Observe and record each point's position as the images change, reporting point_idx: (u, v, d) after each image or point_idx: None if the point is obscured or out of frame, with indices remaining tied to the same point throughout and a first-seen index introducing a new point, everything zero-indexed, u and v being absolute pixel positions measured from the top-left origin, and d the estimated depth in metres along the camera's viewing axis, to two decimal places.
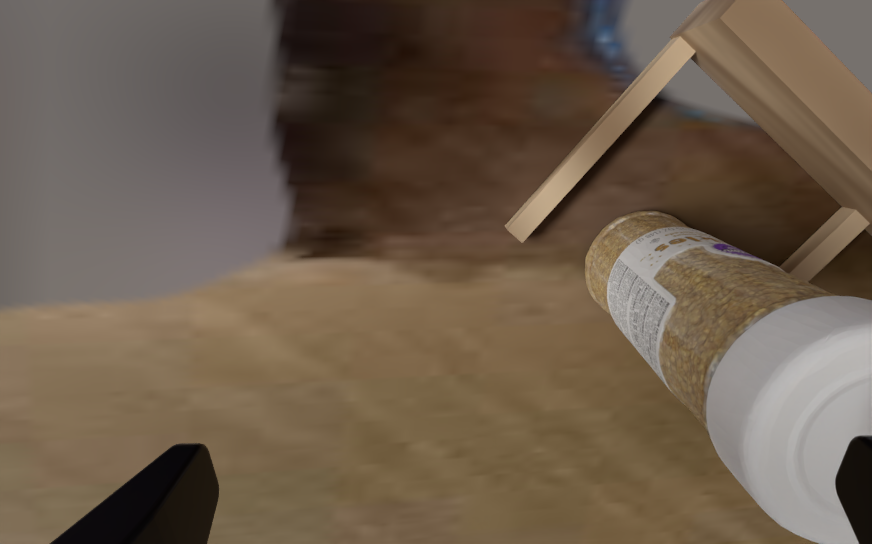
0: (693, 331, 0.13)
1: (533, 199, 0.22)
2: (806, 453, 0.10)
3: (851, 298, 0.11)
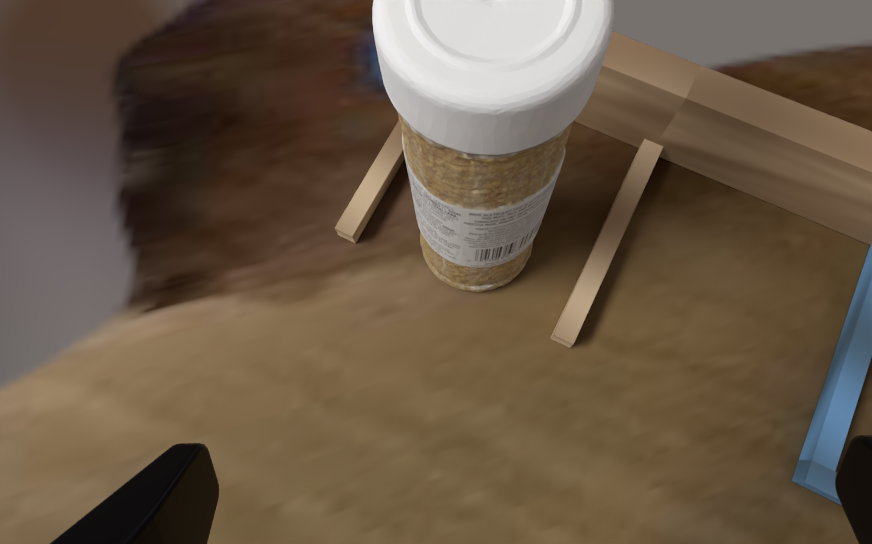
0: None
1: (353, 198, 0.23)
2: (427, 17, 0.11)
3: None
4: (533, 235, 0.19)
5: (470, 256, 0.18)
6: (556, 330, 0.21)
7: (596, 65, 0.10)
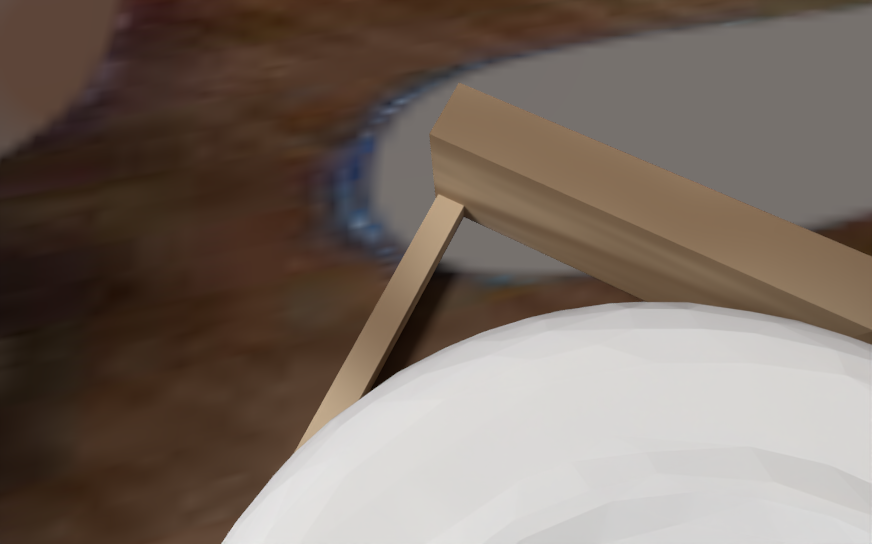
0: None
1: (301, 442, 0.15)
2: None
3: None
4: None
5: None
6: None
7: None
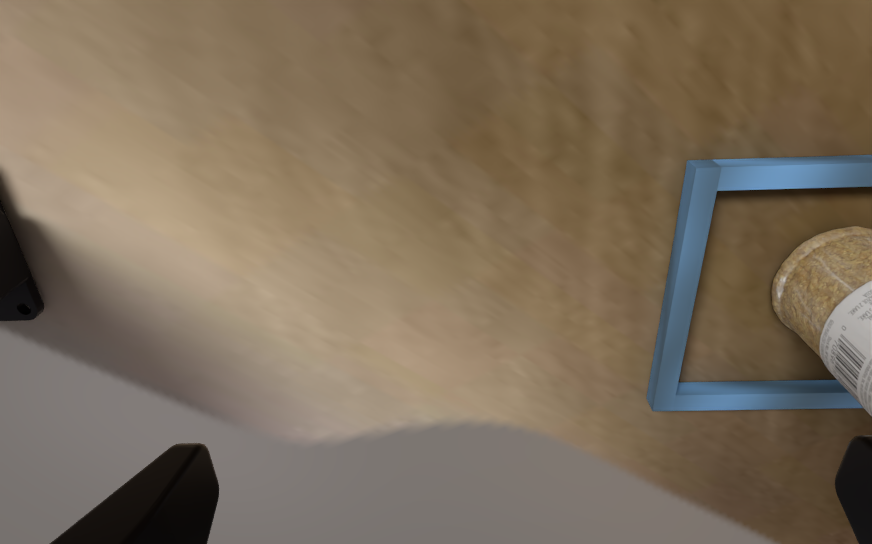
0: None
1: None
2: None
3: None
4: None
5: (852, 337, 0.17)
6: None
7: None
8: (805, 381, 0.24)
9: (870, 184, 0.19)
